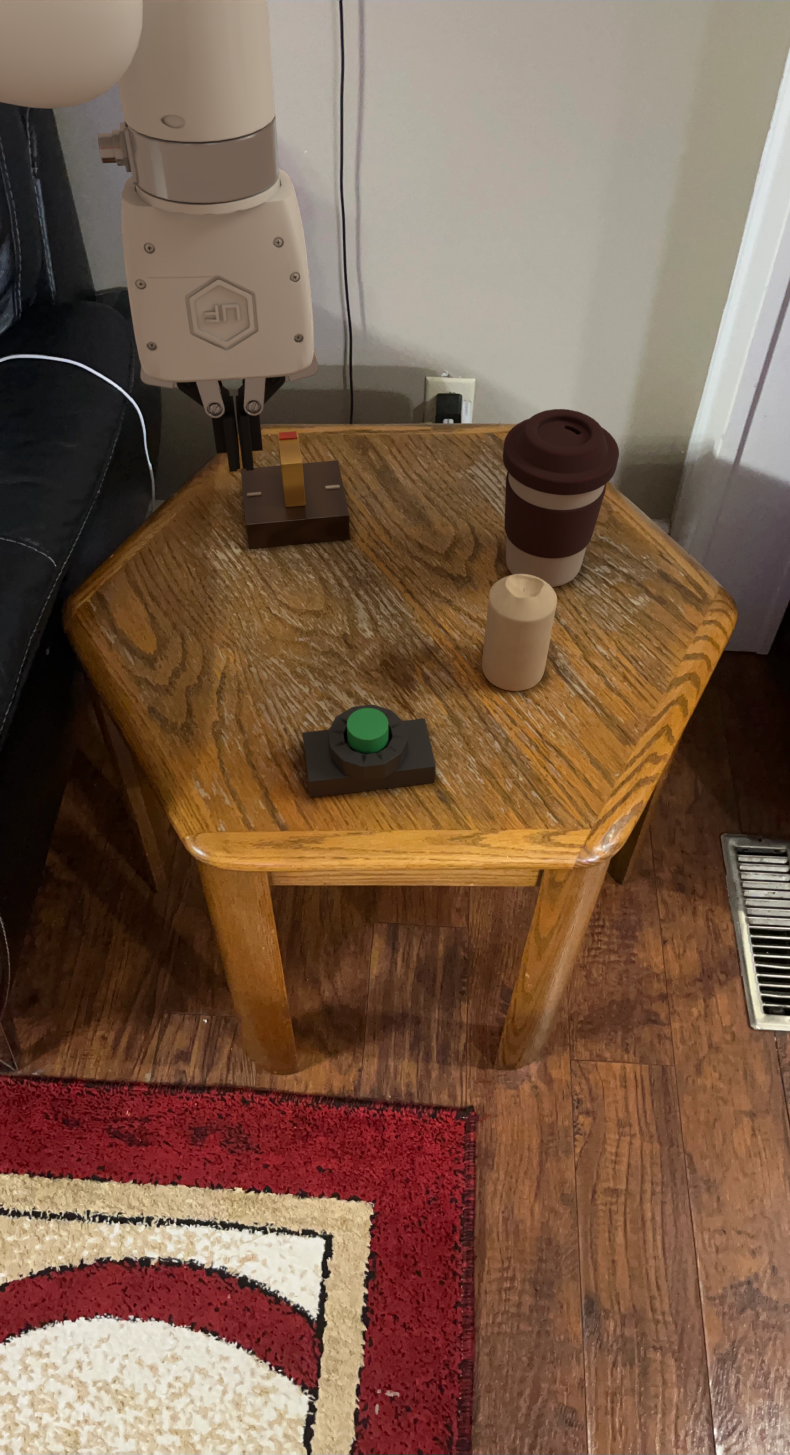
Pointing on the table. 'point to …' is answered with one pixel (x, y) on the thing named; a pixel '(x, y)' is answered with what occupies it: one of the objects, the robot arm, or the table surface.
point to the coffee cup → (554, 491)
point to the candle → (518, 631)
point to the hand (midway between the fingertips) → (240, 458)
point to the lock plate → (295, 507)
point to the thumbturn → (291, 469)
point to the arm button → (367, 730)
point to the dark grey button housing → (368, 757)
